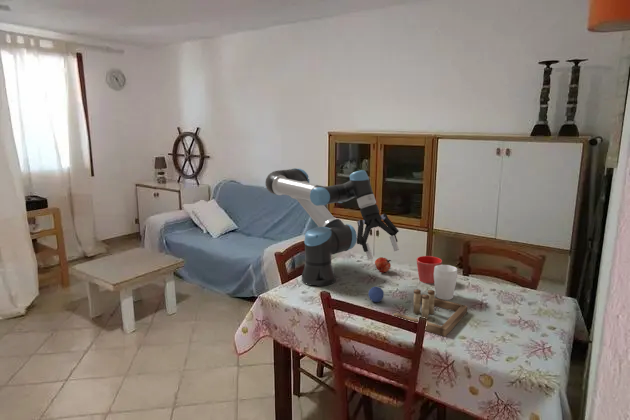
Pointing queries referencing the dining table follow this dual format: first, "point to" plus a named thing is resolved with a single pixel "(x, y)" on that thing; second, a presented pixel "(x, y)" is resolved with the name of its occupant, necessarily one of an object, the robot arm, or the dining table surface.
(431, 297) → the pin
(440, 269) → the cup
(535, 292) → the dining table surface
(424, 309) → the pin
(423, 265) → the flower pot
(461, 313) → the tray
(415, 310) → the pin front
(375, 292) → the ball
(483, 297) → the dining table surface
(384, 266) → the pomegranate
